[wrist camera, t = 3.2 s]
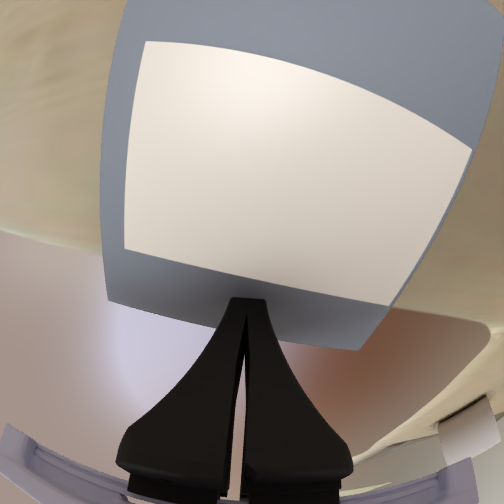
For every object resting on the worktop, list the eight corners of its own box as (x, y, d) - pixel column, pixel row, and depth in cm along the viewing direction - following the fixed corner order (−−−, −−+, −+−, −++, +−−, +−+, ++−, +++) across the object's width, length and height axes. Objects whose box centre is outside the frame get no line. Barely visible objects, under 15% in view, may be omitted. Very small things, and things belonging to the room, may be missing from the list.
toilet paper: (484, 390, 28) (501, 439, 20) (487, 401, 32) (501, 442, 24) (434, 420, 33) (446, 469, 24) (445, 426, 36) (454, 467, 28)
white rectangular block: (438, 134, 7) (472, 149, 6) (373, 271, 11) (388, 306, 9) (171, 49, 6) (145, 41, 5) (146, 218, 10) (124, 248, 8)
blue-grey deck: (455, 22, 7) (505, 18, 4) (344, 300, 17) (358, 350, 14) (197, -64, 6) (174, -102, 2) (135, 254, 16) (108, 300, 12)
